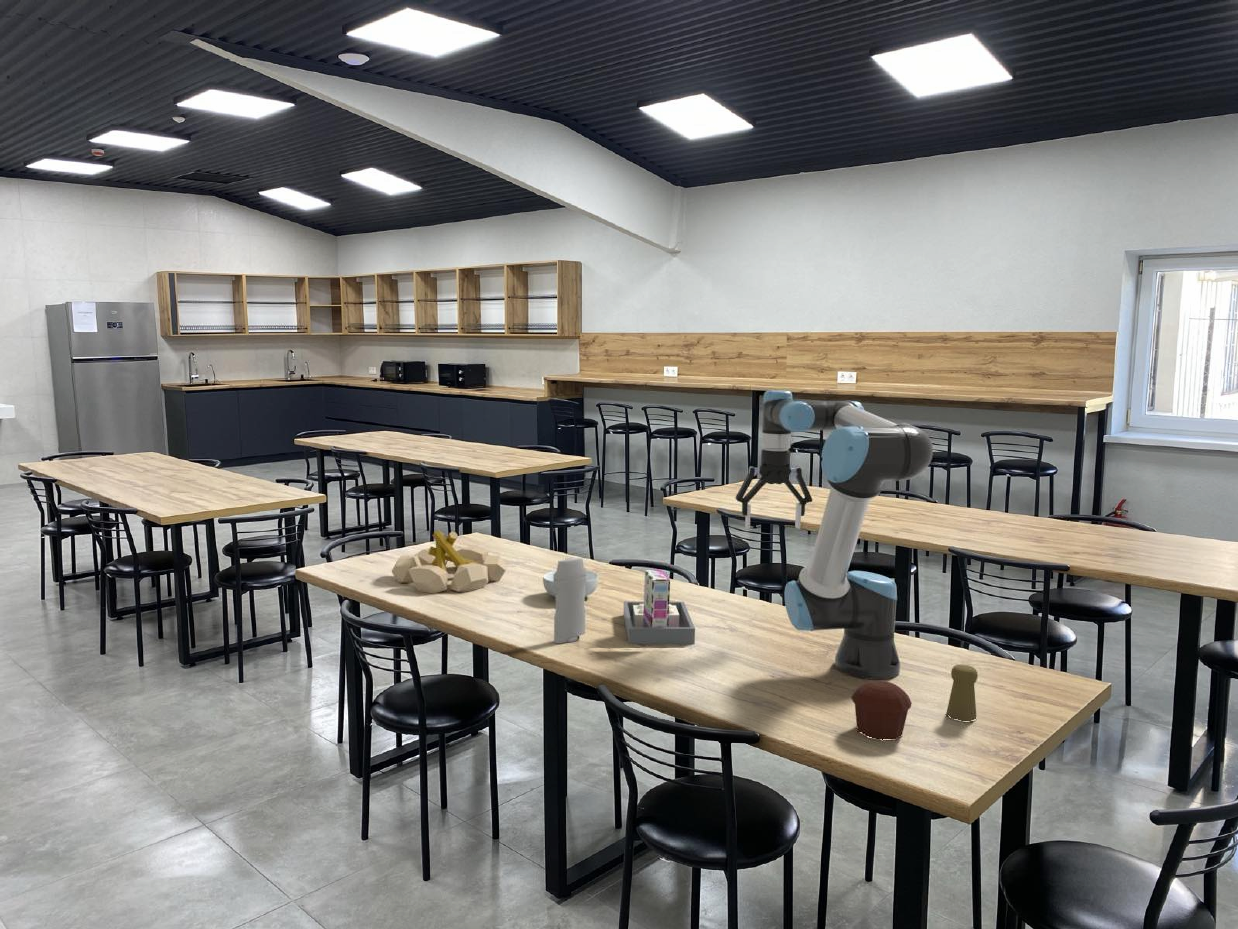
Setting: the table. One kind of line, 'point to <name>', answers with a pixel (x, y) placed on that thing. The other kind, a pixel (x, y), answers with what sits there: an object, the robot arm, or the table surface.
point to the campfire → (431, 567)
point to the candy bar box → (656, 599)
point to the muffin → (881, 709)
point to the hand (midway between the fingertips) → (772, 527)
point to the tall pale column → (569, 600)
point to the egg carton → (639, 611)
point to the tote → (659, 628)
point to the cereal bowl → (589, 585)
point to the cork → (963, 693)
